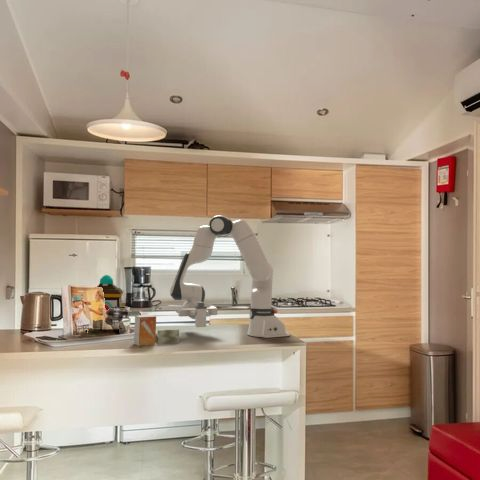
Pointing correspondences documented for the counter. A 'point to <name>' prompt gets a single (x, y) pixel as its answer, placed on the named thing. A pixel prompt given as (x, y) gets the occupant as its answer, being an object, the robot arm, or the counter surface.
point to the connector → (200, 315)
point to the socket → (167, 336)
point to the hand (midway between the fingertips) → (201, 313)
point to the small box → (145, 330)
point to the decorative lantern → (111, 292)
